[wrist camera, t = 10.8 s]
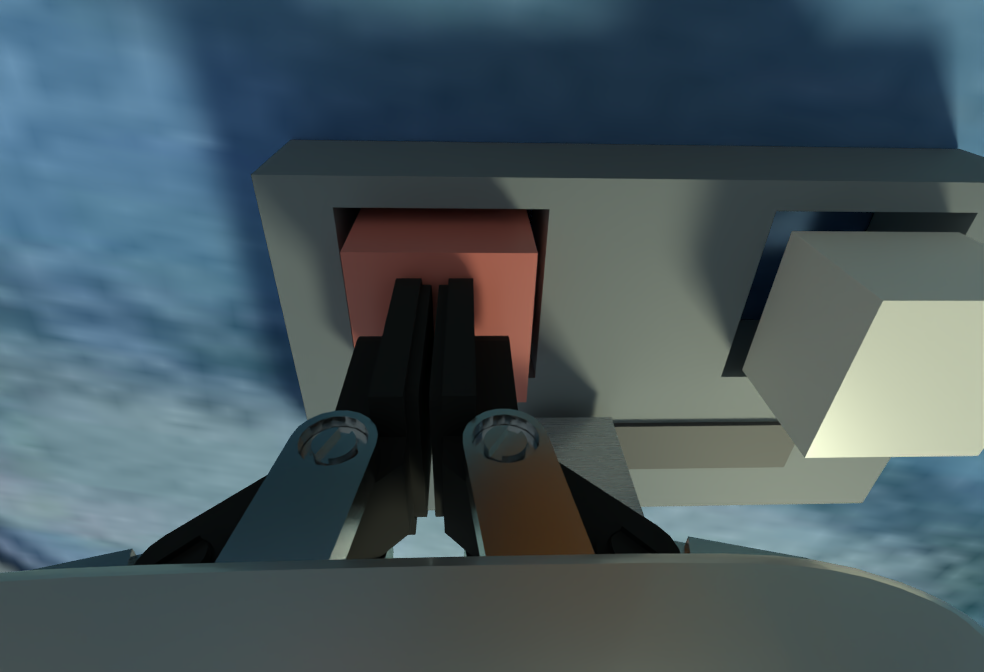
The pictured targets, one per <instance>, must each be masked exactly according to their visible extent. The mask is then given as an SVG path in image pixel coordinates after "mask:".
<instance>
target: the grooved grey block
mask: <svg viewBox="0 0 984 672" xmlns="http://www.w3.org/2000/svg"><path fill="white" fill-rule="evenodd" d="M535 419H537V420H538V421H539V422H540V423H542V425H543V427H544V428H545V430H546V431H547V433H548V436H549V438H550V441H551V443H552V446H553V448H554V451H555V454H556V456H557V459H558V461H559V462H560V463H561V464H563V465H564V466H566V467H568V468H569V469H571V470H572V471H574V472H575V473H577V474H578V475H580V476H581V477H583V478H585V479H586V480H588V481H589V482H591V483H592V484H594V485H595V486H597V487H598V488H600V489H602V490H603V491H605V492H606V493H608V494H609V495H611V496H612V497H614V498H615V499H617V500H619V501H620V502H622V503H623V504H625V505H626V506H628V507H629V508H631V509H632V510H634V511H636V512H637V513H639V514H640V515H642V516H643V517H644V515H643V512H642V509H641V506H640V503H639V500H638V497H637V494H636V491H635V488H634V484H633V481H632V478H631V475H630V472H629V469H628V466H627V463H626V460H625V457H624V454H623V451H622V448H621V445H620V442H619V439H618V436H617V433H616V430H615V427H614V424H613V421H612V418H611V417H567V418H535Z"/></svg>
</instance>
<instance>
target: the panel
mask: <svg viewBox="0 0 984 672" xmlns="http://www.w3.org/2000/svg"><path fill="white" fill-rule="evenodd" d="M251 177H252V181H253V186H254V190H255V194H256V199H257V203H258V207H259V212H260V216H261V220H262V225H263V229H264V233H265V238H266V242H267V246H268V251H269V255H270V259H271V264H272V268H273V272H274V277H275V281H276V285H277V290H278V294H279V298H280V303H281V307H282V311H283V316H284V320H285V324H286V329H287V333H288V337H289V342H290V346H291V350H292V355H293V359H294V363H295V368H296V372H297V377H298V381H299V385H300V390H301V394H302V398H303V403H304V407H305V411H306V416H307V420H308V419H310V418H312V417H315V416H317V415H319V414H322V413H326V412H331V411H335V410H336V406H337V403H338V400H339V396H340V393H341V390H342V387H343V383H344V380H345V377H346V374H347V370H348V367H349V364H350V361H351V357H352V354H353V351H354V342H353V336H352V329H351V322H350V316H349V309H348V302H347V296H346V289H345V282H344V275H343V269H342V262H341V255H340V251H341V249H342V247H343V245H344V243H345V241H346V239H347V237H348V235H349V232H350V230H351V228H352V226H353V224H354V222H355V220H356V218H357V216H358V214H359V211H360V209H361V208H466V209H533V213H532V228H531V229H532V233H533V237H534V241H535V244H536V248H537V252H538V257H537V270H536V283H535V296H534V309H533V322H532V335H531V348H530V361H529V374H528V387H527V400H526V402H517V405H518V411H522V412H524V413H527V414H529V415H531V416H533V417H534V418H567V417H611V418H612V421H613V424H614V427H615V430H616V433H617V436H618V439H619V442H620V445H621V448H622V451H623V454H624V457H625V460H626V463H627V466H628V469H629V472H630V475H631V478H632V481H633V484H634V488H635V491H636V494H637V497H638V500H639V503H640V506H641V507H649V506H708V505H768V504H827V503H862V502H863V501H864V499H865V498H866V496H867V494H868V493H869V491H870V490H871V488H872V486H873V485H874V483H875V482H876V480H877V478H878V477H879V475H880V474H881V472H882V470H883V469H884V467H885V466H886V464H887V462H888V461H889V459H890V458H891V457H838V458H804V456H803V455H802V453H801V452H800V451H799V449H798V448H797V446H796V445H795V444H794V442H793V441H792V439H791V438H790V437H789V435H788V434H787V432H786V431H785V429H784V428H783V427H782V425H781V424H780V422H779V421H778V420H777V418H776V417H775V415H774V414H773V413H772V411H771V410H770V408H769V407H768V406H767V404H766V403H765V401H764V400H763V399H762V397H761V396H760V394H759V393H758V391H757V390H756V389H755V387H754V386H753V384H752V383H751V382H750V380H749V379H748V377H747V376H746V375H745V373H744V372H743V370H742V369H743V366H744V363H745V361H746V358H747V355H748V352H749V349H750V347H751V344H752V341H753V338H754V336H755V333H756V330H757V327H758V324H759V322H760V320H740V318H741V315H742V312H743V309H744V306H745V303H746V300H747V297H748V294H749V291H750V288H751V285H752V282H753V279H754V276H755V273H756V270H757V267H758V264H759V261H760V258H761V255H762V252H763V249H764V246H765V243H766V240H767V237H768V234H769V231H770V228H771V225H772V222H773V219H774V216H775V213H776V211H829V212H875V213H874V215H873V217H872V220H871V222H870V224H869V227H868V229H867V231H866V232H960V233H962V234H964V235H966V236H968V237H970V238H972V239H974V240H976V241H978V242H980V243H982V244H984V157H982V156H979V155H976V154H973V153H970V152H967V151H964V150H961V149H924V148H851V147H779V146H706V145H634V144H561V143H489V142H416V141H344V140H290V141H289V142H288V143H286V144H285V145H284V146H283V147H282V148H281V149H280V150H278V151H277V152H276V153H275V154H274V155H273V156H272V157H271V158H269V159H268V160H267V161H266V162H265V163H264V164H263V165H261V166H260V167H259V168H258V169H257V170H256V171H255V172H253V173H252V174H251ZM428 510H435V498H434V481H433V464H432V460H431V473H430V487H429V501H428Z"/></svg>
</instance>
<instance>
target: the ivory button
mask: <svg viewBox="0 0 984 672" xmlns="http://www.w3.org/2000/svg"><path fill="white" fill-rule="evenodd" d="M742 370H743V372H744V373H745V375H746V376H747V377H748V379H749V380H750V382H751V383H752V384H753V386H754V387H755V389H756V390H757V391H758V393H759V394H760V396H761V397H762V399H763V400H764V401H765V403H766V404H767V406H768V407H769V408H770V410H771V411H772V413H773V414H774V415H775V417H776V418H777V420H778V421H779V422H780V424H781V425H782V427H783V428H784V429H785V431H786V432H787V434H788V435H789V437H790V438H791V439H792V441H793V442H794V444H795V445H796V446H797V448H798V449H799V451H800V452H801V453H802V455H803V456H804V458H838V457H916V456H978V455H979V454H980V452H981V451H982V450H983V449H984V244H982V243H980V242H978V241H976V240H974V239H972V238H970V237H968V236H966V235H964V234H962V233H960V232H850V231H792V232H791V235H790V238H789V241H788V243H787V246H786V249H785V252H784V255H783V257H782V260H781V263H780V266H779V269H778V271H777V274H776V277H775V280H774V283H773V285H772V288H771V291H770V294H769V296H768V299H767V302H766V305H765V308H764V310H763V313H762V316H761V319H760V322H759V324H758V327H757V330H756V333H755V336H754V338H753V341H752V344H751V347H750V349H749V352H748V355H747V358H746V361H745V363H744V366H743V369H742Z"/></svg>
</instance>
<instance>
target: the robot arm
mask: <svg viewBox="0 0 984 672" xmlns="http://www.w3.org/2000/svg"><path fill="white" fill-rule="evenodd" d="M431 460H432V464H433V481H434V498H435V515H436V517H443V516H444V524H445V533H446V534H447V535H448V536H450V537H451V538H452V539H453V540H454V541H455V542H456V543H458V544H459V545H460V546H461V547H462V548H463V549H464V557H429V558H393V553H394V551H393V546H395V545H396V544H397V543H398V542H399V541H401V540H402V539H403V538H404V537H406V536H407V535H415V534H416V523H417V517H427V514H428V501H429V487H430V473H431ZM0 672H984V628H983V627H982V626H981V625H979V624H978V623H977V622H975V621H974V620H973V619H972V618H970V617H969V616H968V615H966V614H965V613H963V612H961V611H960V610H958V609H956V608H955V607H953V606H952V605H950V604H948V603H947V602H945V601H943V600H941V599H938V598H936V597H934V596H932V595H930V594H928V593H926V592H923V591H921V590H919V589H916V588H914V587H911V586H909V585H906V584H904V583H901V582H898V581H895V580H892V579H888V578H885V577H882V576H878V575H875V574H872V573H869V572H866V571H862V570H859V569H856V568H852V567H847V566H842V565H837V564H832V563H827V562H822V561H817V560H811V559H808V558H804V557H798V556H793V555H787V554H782V553H776V552H771V551H765V550H760V549H754V548H749V547H743V546H738V545H732V544H727V543H721V542H716V541H710V540H705V539H699V538H694V537H688V538H687V541H686V543H683V542H678V541H673V540H672V538H671V537H670V536H669V535H668V534H667V533H666V532H664V531H663V530H662V529H661V528H660V527H658V526H657V525H656V524H654V523H653V522H651V521H649V520H648V519H646V518H645V517H643V516H642V515H640V514H639V513H637V512H636V511H634V510H632V509H631V508H629V507H628V506H626V505H625V504H623V503H622V502H620V501H619V500H617V499H615V498H614V497H612V496H611V495H609V494H608V493H606V492H605V491H603V490H602V489H600V488H598V487H597V486H595V485H594V484H592V483H591V482H589V481H588V480H586V479H585V478H583V477H581V476H580V475H578V474H577V473H575V472H574V471H572V470H571V469H569V468H568V467H566V466H564V465H563V464H561V463H560V462H559V461H558V459H557V456H556V454H555V451H554V448H553V446H552V443H551V441H550V438H549V436H548V433H547V431H546V430H545V428H544V427H543V425H542V423H540V422H539V421H538V420H537V419H535V418H534V417H533V416H531V415H529V414H527V413H524V412H522V411H518V405H517V397H516V389H515V381H514V373H513V364H512V356H511V348H510V340H509V336H475V329H474V288H473V278H449V281H448V285H439V289H438V300H437V311H436V322H435V333H434V323H433V301H432V286H431V285H423V284H422V278H396V280H395V284H394V289H393V293H392V297H391V301H390V305H389V310H388V314H387V318H386V322H385V326H384V331H383V335H382V336H360V337H358V339H357V341H356V344H355V348H354V351H353V354H352V357H351V361H350V364H349V367H348V370H347V374H346V377H345V380H344V383H343V387H342V390H341V393H340V396H339V400H338V403H337V406H336V410H335V411H331V412H326V413H322V414H319V415H317V416H315V417H312V418H310V419H308V420H307V421H306V422H304V423H303V424H301V425H300V426H299V427H298V428H297V429H296V430H295V431H294V433H293V434H292V435H291V436H290V438H289V440H288V441H287V443H286V445H285V446H284V448H283V450H282V451H281V453H280V455H279V456H278V458H277V460H276V461H275V463H274V465H273V466H272V468H271V470H270V471H269V473H268V475H266V476H265V477H263V478H261V479H260V480H258V481H256V482H255V483H253V484H251V485H250V486H248V487H246V488H244V489H243V490H241V491H239V492H238V493H236V494H234V495H233V496H231V497H229V498H228V499H226V500H224V501H223V502H221V503H219V504H217V505H216V506H214V507H212V508H211V509H209V510H207V511H206V512H204V513H202V514H201V515H199V516H197V517H196V518H194V519H192V520H190V521H189V522H187V523H185V524H184V525H182V526H180V527H179V528H177V529H175V530H174V531H172V532H170V533H169V534H167V535H165V536H164V537H162V538H161V539H160V540H158V541H157V542H155V543H154V544H153V545H151V546H150V547H149V548H148V549H147V550H146V551H145V552H144V553H143V554H140V555H136V554H135V552H134V551H133V549H128V550H124V551H119V552H114V553H109V554H104V555H100V556H95V557H90V558H85V559H81V560H76V561H71V562H66V563H62V564H57V565H52V566H47V567H42V568H38V569H33V570H28V571H16V572H4V573H0Z"/></svg>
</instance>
